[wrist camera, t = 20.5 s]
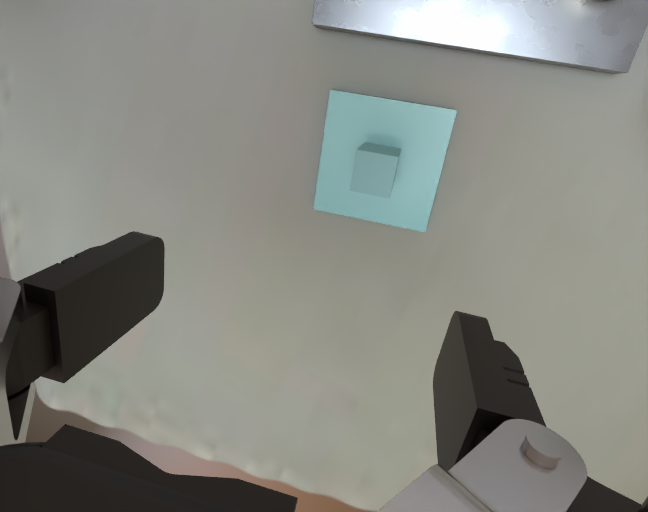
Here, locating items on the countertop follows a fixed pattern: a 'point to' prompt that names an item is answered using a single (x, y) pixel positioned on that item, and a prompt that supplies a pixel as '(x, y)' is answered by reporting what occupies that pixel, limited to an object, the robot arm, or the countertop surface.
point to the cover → (382, 159)
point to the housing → (503, 27)
